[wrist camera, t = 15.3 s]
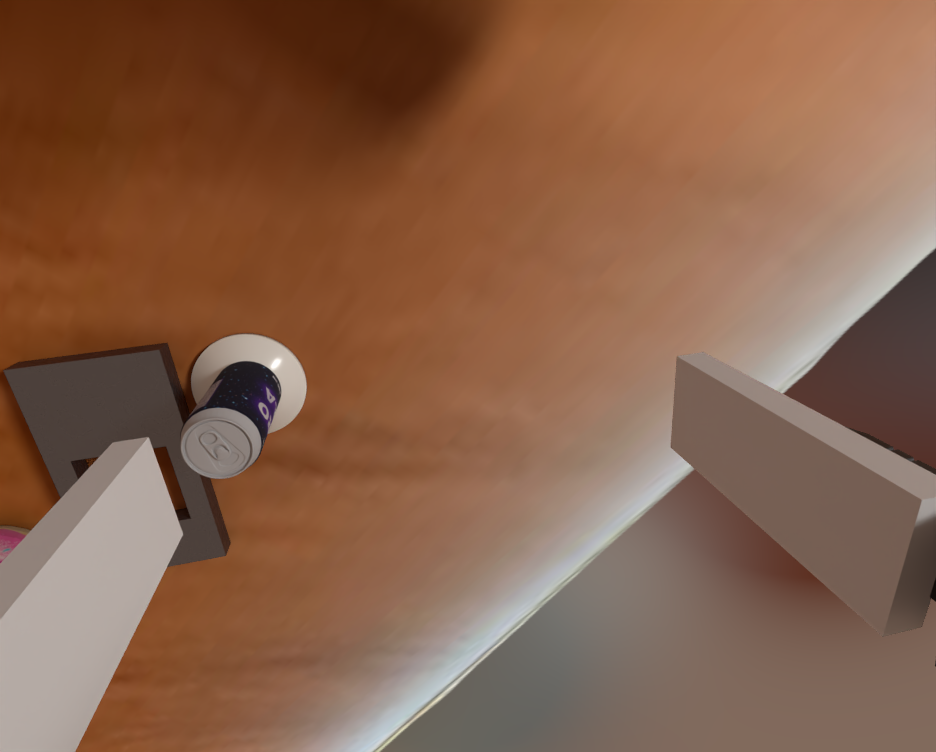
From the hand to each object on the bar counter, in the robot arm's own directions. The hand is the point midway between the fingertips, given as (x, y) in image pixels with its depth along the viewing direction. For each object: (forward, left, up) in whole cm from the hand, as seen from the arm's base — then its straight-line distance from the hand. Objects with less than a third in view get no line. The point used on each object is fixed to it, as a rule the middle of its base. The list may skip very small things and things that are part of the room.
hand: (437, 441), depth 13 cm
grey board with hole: (+17, -26, -37) cm, 48 cm away
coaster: (+11, -14, -37) cm, 41 cm away
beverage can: (+11, -14, -36) cm, 40 cm away
